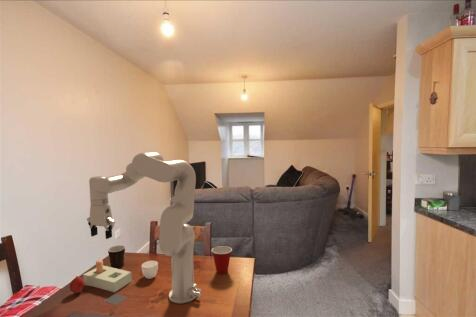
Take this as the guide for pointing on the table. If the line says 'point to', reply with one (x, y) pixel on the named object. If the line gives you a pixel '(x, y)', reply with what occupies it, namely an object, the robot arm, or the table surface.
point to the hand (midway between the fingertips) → (101, 236)
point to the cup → (149, 269)
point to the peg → (99, 266)
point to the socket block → (108, 278)
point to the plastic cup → (221, 258)
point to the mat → (115, 299)
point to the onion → (77, 285)
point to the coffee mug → (117, 256)
